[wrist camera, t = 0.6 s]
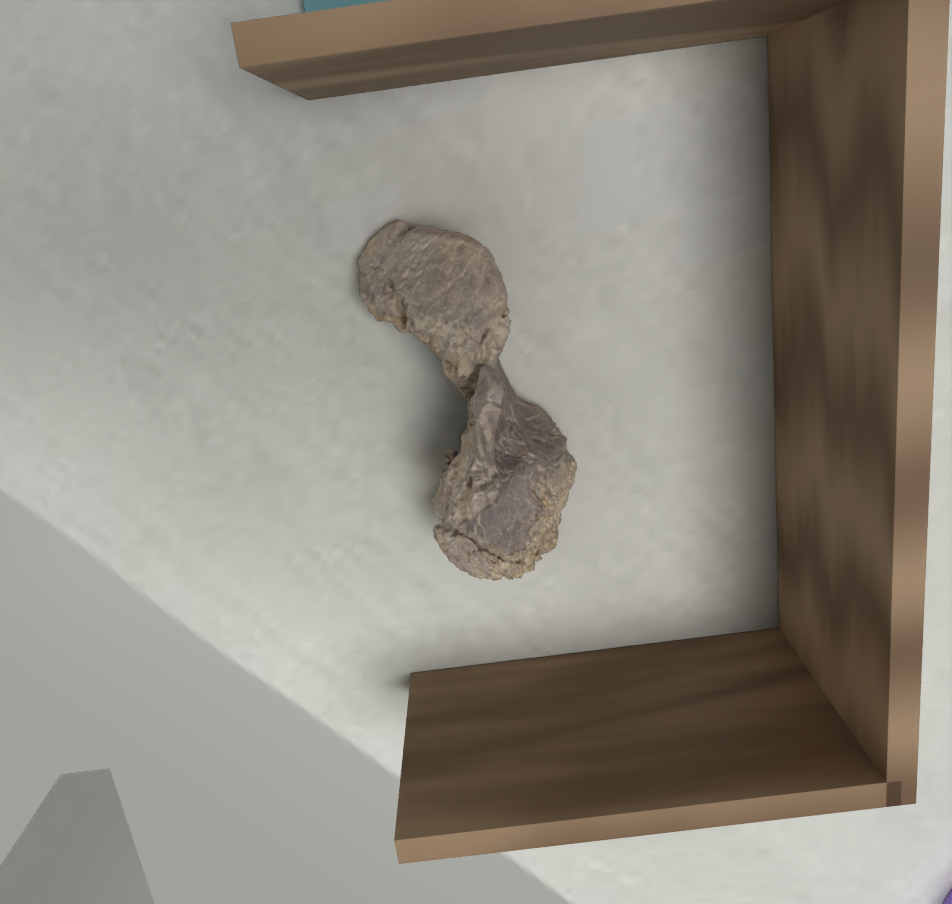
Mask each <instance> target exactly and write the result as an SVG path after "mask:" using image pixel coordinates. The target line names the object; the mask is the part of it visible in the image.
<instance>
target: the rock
mask: <svg viewBox="0 0 952 904" xmlns="http://www.w3.org/2000/svg"><path fill="white" fill-rule="evenodd" d="M358 265H359V268H360V271H361V275H360V281H359V283H360V289H359V291H360V292H359V295H360V296H361V298H362V301H363V302H364V304H366V305H367V306H368V310H369V311H370V312H371V313H372V314H373V315H374V316H375V318H376V319H377V321H382V320H386V321H389V322H393V324H394V325H395V326H396V329H397V330H398V331H399V332H407V333H408V332H410V333H411V334H413V335H414V336H415V337H417V338H418V339H419V340H421V341H422V342H423V343H425V344H427V345H428V346H429V347H430V348H431V350H432V351H433V352H434V353H435V354H436V355H437V356H438V358H440V360H441V364H442V367H443V371H442V372H443V373H444V374H445V375H446V377H447V378H448V379H449V381H450V382H451V383H452V384H453V385H454V386H455V387H456V388H457V389H458V390H459V391H460V392H461V394H462V395H463V396H465V397H467V402H468V406H467V407H468V419H467V425H468V426H467V428H466V429H465V431H464V433H463V434H462V437H461V440H462V445H461V451H460V452H457V451H456V450H451V449H450V450H446V452H447V454H445V459H446V461H447V462H446V465H447V469H445V470H442V472H443V476H442V477H441V478H440V479H439V481H440V484H441V485H440V487H439V489H438V490H437V493H436V494H435V496H434V498H433V499H432V505H433V507H434V514H435V515H436V516H438V517H439V518H440V519H441V520H442V521H443V523H441V524H439V525H435V526H434V528H433V532H434V538H435V539H436V541H437V542H438V543H439V546H440V548H441V550H442V551H443V553H444V554H445V555H446V556H447V557H448V559H449V561H450V562H451V563H453V564H455V566H456V567H458V568H459V569H460V570H461V571H465V572H468V573H469V575H471V576H473V577H477V578H479V579H482V578H483V577H484V578H487V579H492V580H498V579H501V577H502V576H505V577H506V578H508V579H513V578H517V577H518V578H521V577H522V575H523V574H524V572H528V571H532V570H534V569H535V567H534V566H535V561H537V562H538V561H539V560H541V559H542V557H541V556H540V555H541V554H544V553H548V552H549V551H551V550H552V549H554V548H555V546H556V545H557V544H556V543H557V539H558V533H559V532H558V528H557V527H558V524H560V522H561V518H560V517H561V512H560V511H561V510H562V509H563V508H564V506H565V503H566V502H567V500H568V495H569V491H568V490H570V489H571V488H572V484H574V477H575V473H576V468H577V463H576V461H575V459H574V458H573V456H572V455H571V454H569V452H568V451H567V449H566V441H567V438H566V437H565V436H563V434H562V433H561V431H560V429H559V428H558V427H557V426H556V424H555V423H554V422H553V421H552V418H551V417H550V416H549V415H547V412H545V411H544V410H542V409H541V408H540V407H537V406H533V405H529V404H527V403H525V402H523V401H522V400H521V399H520V398H519V397H518V396H517V395H516V394H515V392H514V391H513V389H512V387H511V385H510V383H509V381H508V379H507V377H506V374H505V372H504V370H503V368H502V366H501V364H500V361H499V359H498V357H499V356H500V353H501V352H502V349H503V347H504V345H505V342H506V340H507V337H508V335H509V333H510V329H509V326H510V323H511V321H510V320H509V317H508V315H509V309H508V307H507V292H506V287H505V284H504V282H503V280H502V274H501V272H500V271H499V269H498V267H497V265H496V264H495V261H494V258H493V256H492V254H491V253H490V251H489V250H488V249H487V248H486V247H484V246H483V245H482V244H481V243H480V242H478V241H477V240H474V239H473V238H471V237H470V236H467V235H463V234H461V233H459V232H449V231H446V230H440V229H438V228H436V227H434V226H427V227H423V226H420V225H419V226H417V227H415V228H413V229H411V230H410V231H409V228H408V225H407V223H406V222H404V221H402V220H396V221H395V222H392V223H389V224H387V225H386V226H385V227H383V228H382V229H381V231H380V232H379V233H378V234H377V235H376V236H374V238H372V239H371V240H370V241H369V242H368V243H367V246H366V248H365V250H364V251H363V253H362V255H361V257H360V258H359V261H358Z"/></svg>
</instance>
